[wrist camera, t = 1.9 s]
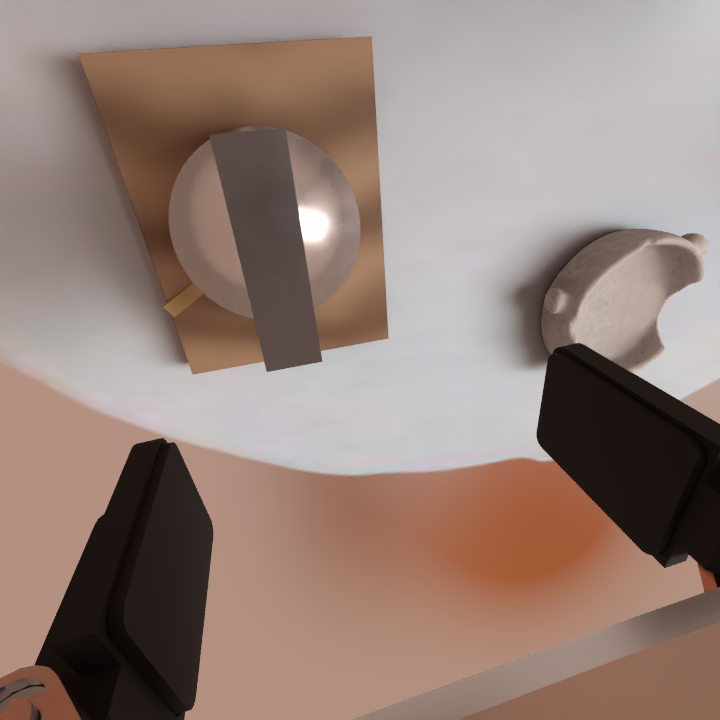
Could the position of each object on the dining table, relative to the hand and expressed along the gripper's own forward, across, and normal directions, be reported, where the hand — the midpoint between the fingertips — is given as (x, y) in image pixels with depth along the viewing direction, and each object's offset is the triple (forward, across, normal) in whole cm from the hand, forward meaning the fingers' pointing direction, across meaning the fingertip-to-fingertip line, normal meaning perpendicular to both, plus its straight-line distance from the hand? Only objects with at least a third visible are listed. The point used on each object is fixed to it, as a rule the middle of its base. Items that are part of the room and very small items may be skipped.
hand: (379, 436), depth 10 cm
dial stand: (+23, +2, -2) cm, 23 cm away
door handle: (+21, +2, -1) cm, 21 cm away
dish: (+23, -28, +10) cm, 38 cm away
